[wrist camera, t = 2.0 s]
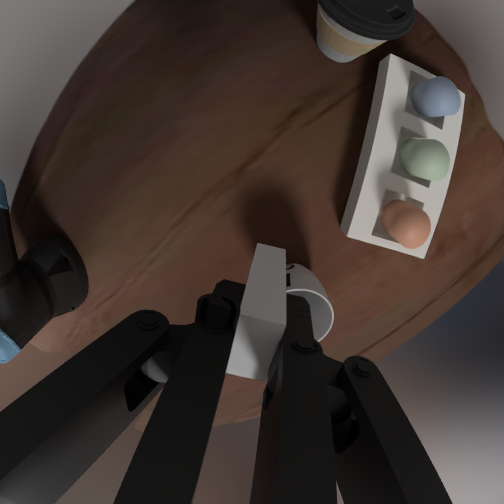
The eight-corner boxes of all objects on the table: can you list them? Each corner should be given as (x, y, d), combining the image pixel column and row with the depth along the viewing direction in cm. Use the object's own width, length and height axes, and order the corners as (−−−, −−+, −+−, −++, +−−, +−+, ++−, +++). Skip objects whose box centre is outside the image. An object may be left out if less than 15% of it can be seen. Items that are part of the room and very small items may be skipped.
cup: (289, 241, 37) (293, 274, 28) (333, 275, 38) (348, 314, 29) (253, 284, 40) (246, 325, 30) (296, 313, 41) (300, 358, 31)
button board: (339, 227, 35) (346, 236, 32) (379, 61, 27) (390, 53, 23) (411, 248, 35) (423, 258, 32) (450, 97, 27) (465, 94, 23)
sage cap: (394, 168, 29) (412, 172, 24) (402, 133, 27) (422, 132, 22) (423, 180, 29) (444, 186, 24) (432, 147, 27) (453, 148, 22)
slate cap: (407, 108, 26) (427, 104, 21) (412, 77, 24) (431, 69, 19) (436, 123, 26) (458, 121, 21) (441, 92, 24) (462, 87, 19)
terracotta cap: (376, 229, 32) (390, 243, 27) (387, 194, 30) (404, 203, 25) (405, 238, 32) (422, 253, 27) (416, 205, 30) (436, 215, 25)
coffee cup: (361, 85, 28) (412, 52, 14) (292, 57, 28) (302, 2, 14) (379, 34, 25) (426, -12, 11) (314, 6, 24) (331, -56, 10)
